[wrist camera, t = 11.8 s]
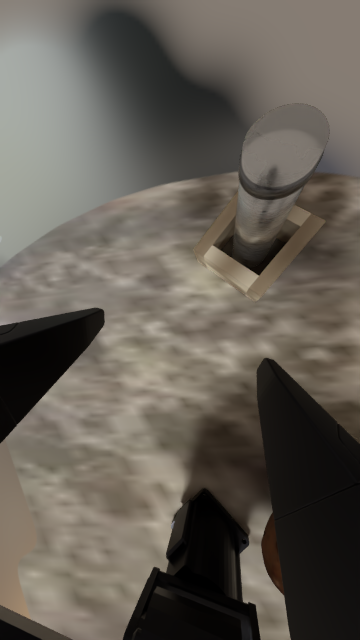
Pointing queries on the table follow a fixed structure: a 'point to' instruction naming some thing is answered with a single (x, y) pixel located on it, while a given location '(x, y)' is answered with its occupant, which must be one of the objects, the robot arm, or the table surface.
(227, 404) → the table surface
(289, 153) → the silver metal cylinder
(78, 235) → the table surface
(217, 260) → the socket block
